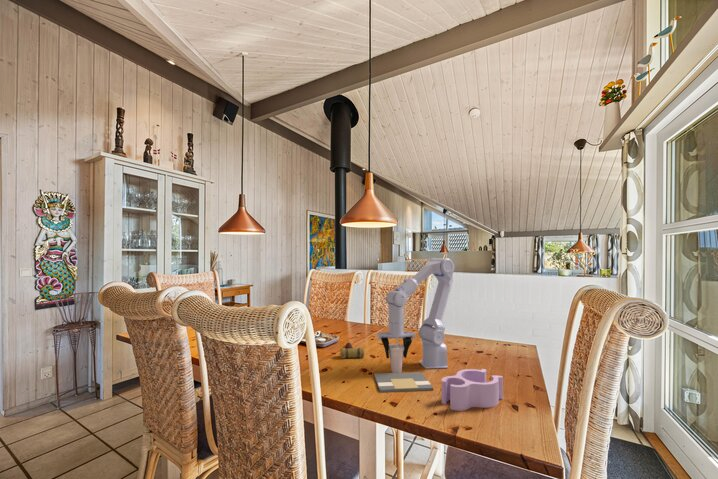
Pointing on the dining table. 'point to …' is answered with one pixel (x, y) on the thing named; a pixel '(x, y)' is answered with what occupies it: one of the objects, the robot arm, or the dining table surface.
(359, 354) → the gavel
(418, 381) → the board
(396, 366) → the smoothie
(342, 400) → the dining table surface
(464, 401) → the clip
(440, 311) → the robot arm
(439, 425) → the dining table surface
